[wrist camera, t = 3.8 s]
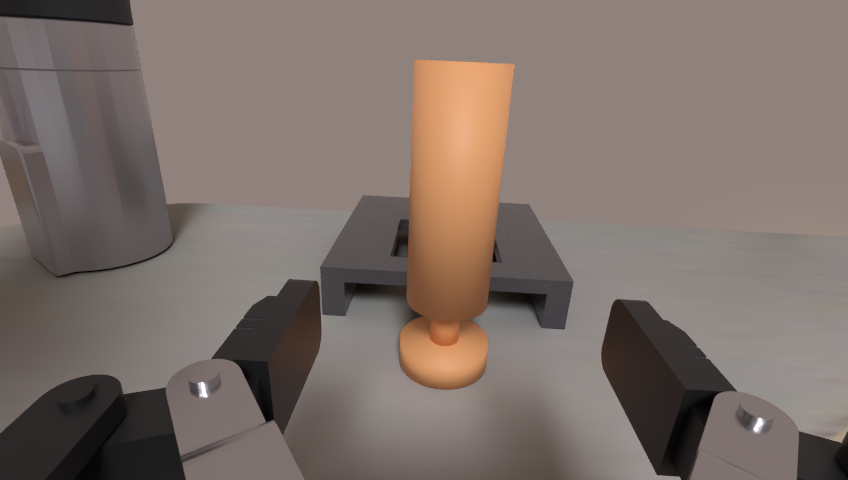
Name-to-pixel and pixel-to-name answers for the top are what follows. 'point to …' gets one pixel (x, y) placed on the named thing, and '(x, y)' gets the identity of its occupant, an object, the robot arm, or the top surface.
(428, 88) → the post
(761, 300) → the top surface
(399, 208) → the keyhole plate
